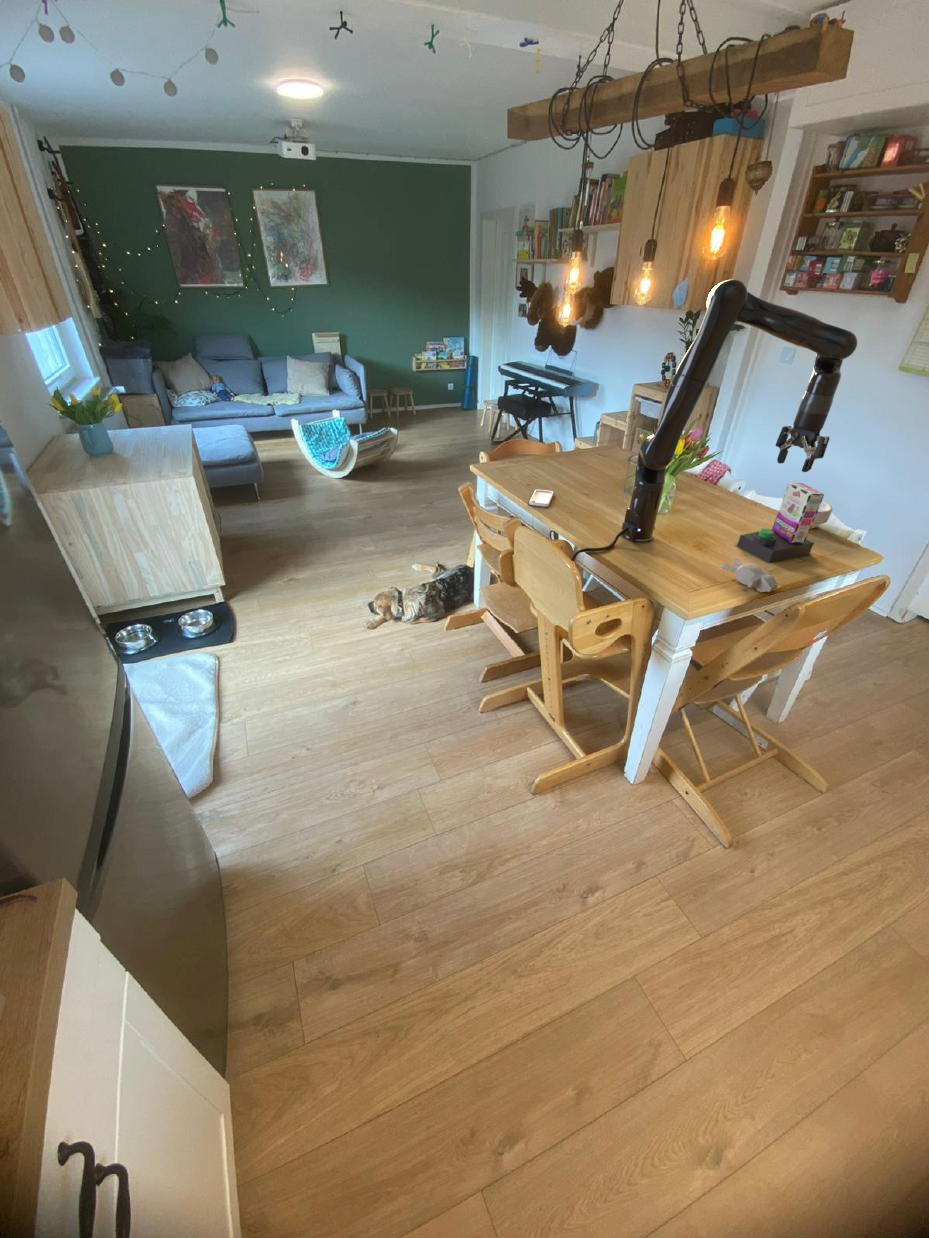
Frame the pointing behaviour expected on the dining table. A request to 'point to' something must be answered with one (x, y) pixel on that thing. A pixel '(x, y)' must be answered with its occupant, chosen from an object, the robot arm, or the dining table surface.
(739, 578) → the bunny figurine
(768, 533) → the button
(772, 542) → the black button box
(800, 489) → the candy bar box
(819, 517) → the paper bowls
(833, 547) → the dining table surface
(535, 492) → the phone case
